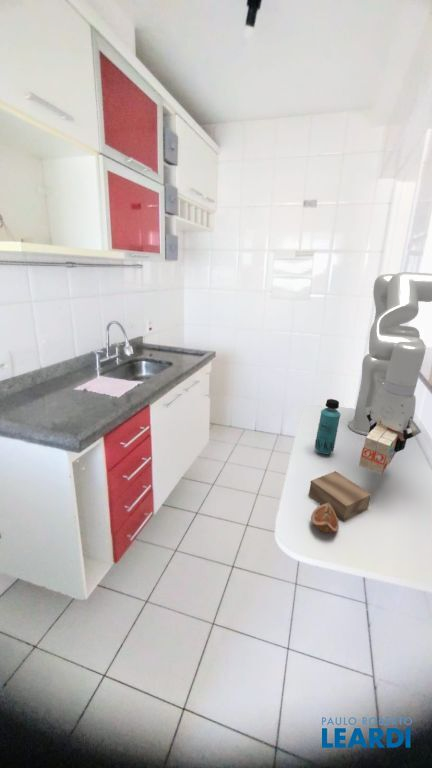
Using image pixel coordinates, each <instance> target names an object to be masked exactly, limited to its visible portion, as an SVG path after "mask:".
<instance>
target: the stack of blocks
mask: <svg viewBox="0 0 432 768" xmlns="http://www.w3.org/2000/svg"><path fill="white" fill-rule="evenodd" d="M381 421H382V417H380V416H378V420H377V424H376V426H375V428H374V429H372V430H371V432H370V433H369V434H368V435H366V437H365V440H364V444H363V447H362V450H361V456H360V457H359V458H360V459H359V464H358V466H359V467H362V468H364V469H366V470H369V471H371V472H374V473H375V474H379V475H382V474H383V473H384V471H385V470H386V469H387V468H388V466H389V465H390V463H391V461H392V460H393V458H394V457H395V455H396V454H397V452H395V451H394V449H395V445H396V441H397V439H399V435H398V434H399V433H398V432H397V431H394V430H392V429H390V428H388V427H386V426H384V425H382V424H381ZM400 425H401V424H400Z"/></svg>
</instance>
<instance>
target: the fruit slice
mask: <svg viewBox="0 0 432 768" xmlns="http://www.w3.org/2000/svg"><path fill="white" fill-rule="evenodd" d="M310 521H311V522H312V525H313V526H314V527H316V528H317V529H318V530H320V531H322V532H325V533H331V534H334V533H336V532H338V531H339V527H340V525H339V519H338V518H337V516H336V514H335V511H334V510H333V508H332V506H331V505H330V503H329V502H328V503H325V504H322V505H320V504H319V506H318V507H316V509H314V510H313V512H312V514H311V516H310Z"/></svg>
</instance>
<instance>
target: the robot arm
mask: <svg viewBox="0 0 432 768" xmlns="http://www.w3.org/2000/svg"><path fill="white" fill-rule="evenodd" d="M372 291H373V293H372V294H373V301H374V306H375V314H374V315H375V316H374V319H373V320H374V321H373V323H372V325H371V328H370V331H369V338H368V339H369V341H368V353H367V354H366V355H365V356H364V357H363V359H362V364H361V368H362V369H361V379H360V386H359V392H358V397H357V401H356V405H355V409H354V416H353V419H352V420H349V422H348V424H347V425H348V428H349V429H350V430H351V431H353V432H355V433H357V434H360V435H363V436H367V435H368V434H369V433H370V432H371V430H372V429H374V428H375V426H376V424H377V420H378V416H380V417H382V421H381V424H382V425H384V426H386V427H388V428H390V429H392V430H394V431H397V432H398V433H399V434H398V435H399V439H397V441H396V445H395V449H394V451H395V452H396V453H399V452H401V451H403V450H404V449H405V447H406V443H407V440H408V439H411V438H414V437H416V436H417V435H419V434H421V433H422V430H421V429H420V428H419V426H418V425H417V423H416V422H415V421H414V417H415V412H416V404H417V403H416V400H417V399H416V395H415V392H416V388H417V384H418V380H419V376H420V373H421V370H422V366H423V362H424V358H425V355H426V344H425V342H424V340H423V339H422V338H420V337H421V336H420V330H418V329H417V328H416V327H415V326H407V325H403V324H406V323H408V322H410V321H412V320H414V319H415V318H416V317H417V315H418V314H419V302H425V303H431V302H432V273H429V272H428V273H427V272H425V273H424V272H409V271H408V272H407V271H405V272H399V273H386V274H385V273H384V274H381V275H379V276H377V278H376V279H375V280H374V284H373V290H372ZM400 424H401V425H400ZM409 429H410V430H411V432H409Z"/></svg>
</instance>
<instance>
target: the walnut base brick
mask: <svg viewBox="0 0 432 768" xmlns="http://www.w3.org/2000/svg"><path fill="white" fill-rule="evenodd" d="M308 491H309V493H308V496H309V497H310V498H311V499H313V500H314V501H315V502H316V503H318V504H319V506H320V505H322V504H325V503H328V502H329V503H330V505H331V506H332V508H333V510H334V511H335V514H336V516H337V519H338V520H339V521H341V522H342V523H344V522H346V521H348V520H350V519H352V518H354V517H357V516H358V515H360V514H362V513H364V512H366V511H368V510H369V507H370V501H371V497H372V494H371V492H368V491H367V490H365V489H364V488H363V487H360V486H359V485H357V484H356V483H355V482H353V481H351V480H350V479H349V478H347V477H345V476H344V475H342V474H341V473H339V472H338V471H336V470H334V471H332V472H329V473H327V474H325V475H321V476H320V477H316V478H314V479H312V480H311V481H310V487H309V490H308Z"/></svg>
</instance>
